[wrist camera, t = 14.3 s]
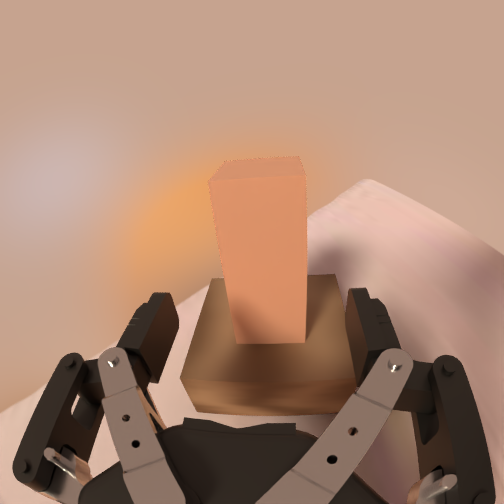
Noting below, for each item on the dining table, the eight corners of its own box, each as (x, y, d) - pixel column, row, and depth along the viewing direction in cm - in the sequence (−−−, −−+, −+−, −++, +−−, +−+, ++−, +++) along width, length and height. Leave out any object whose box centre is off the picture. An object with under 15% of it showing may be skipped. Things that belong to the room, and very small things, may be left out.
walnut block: (331, 312, 29) (335, 274, 27) (347, 411, 19) (359, 377, 16) (220, 316, 31) (212, 278, 28) (197, 411, 20) (179, 378, 18)
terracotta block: (301, 299, 24) (298, 156, 18) (305, 342, 20) (305, 175, 14) (243, 301, 25) (224, 161, 19) (236, 343, 20) (208, 181, 14)
